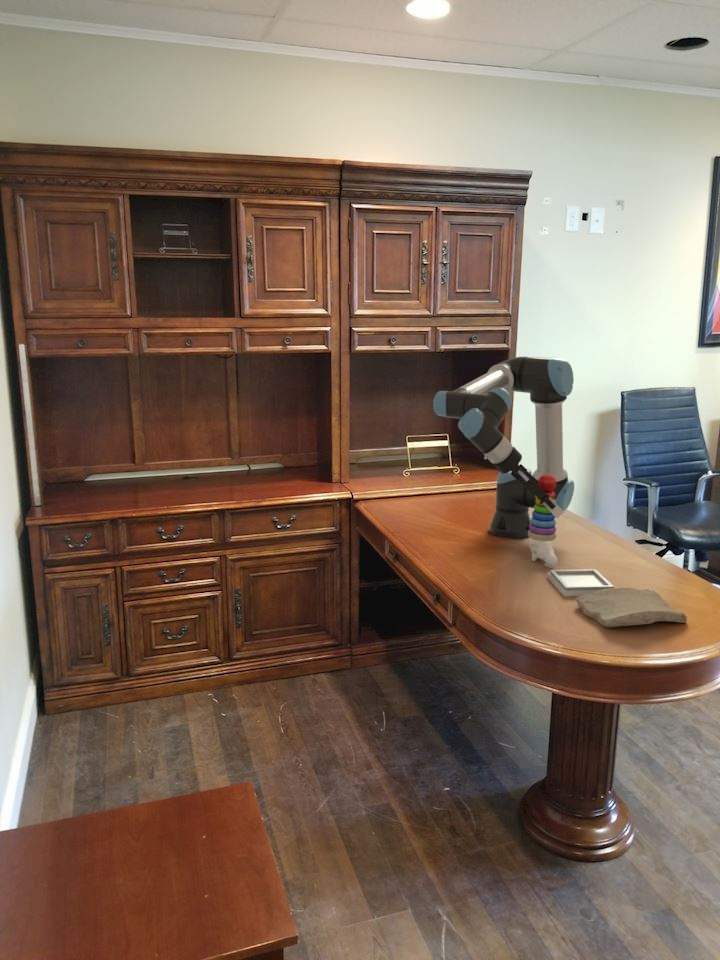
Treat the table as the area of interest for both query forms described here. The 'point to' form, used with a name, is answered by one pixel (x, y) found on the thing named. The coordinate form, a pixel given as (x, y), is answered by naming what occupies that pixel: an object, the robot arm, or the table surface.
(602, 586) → the tray
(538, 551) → the lumpy white figurine
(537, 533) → the stacking toy
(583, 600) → the tablet
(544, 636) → the table surface
